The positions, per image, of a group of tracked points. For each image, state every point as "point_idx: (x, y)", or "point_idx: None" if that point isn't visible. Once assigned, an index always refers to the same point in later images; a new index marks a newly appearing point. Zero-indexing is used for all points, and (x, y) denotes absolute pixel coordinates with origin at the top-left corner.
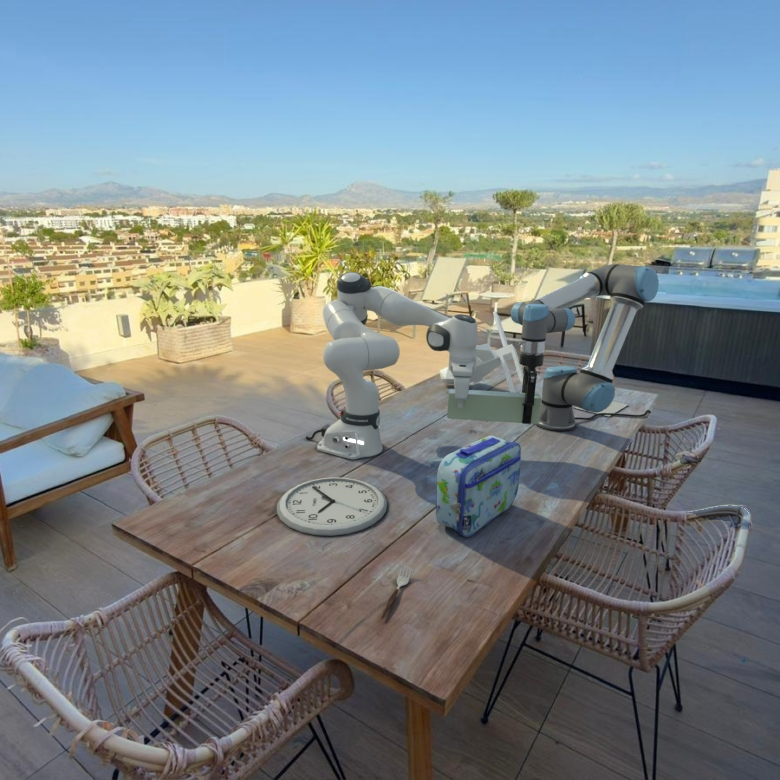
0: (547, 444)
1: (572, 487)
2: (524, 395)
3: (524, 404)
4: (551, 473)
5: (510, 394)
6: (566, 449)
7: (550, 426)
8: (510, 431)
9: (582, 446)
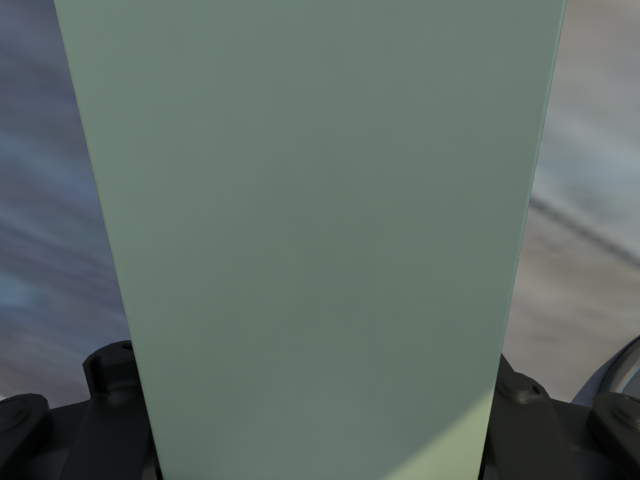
0: None
1: (16, 351)
2: (288, 473)
3: (96, 377)
4: (116, 297)
5: (292, 186)
6: None
7: (628, 374)
8: (620, 165)
9: None
